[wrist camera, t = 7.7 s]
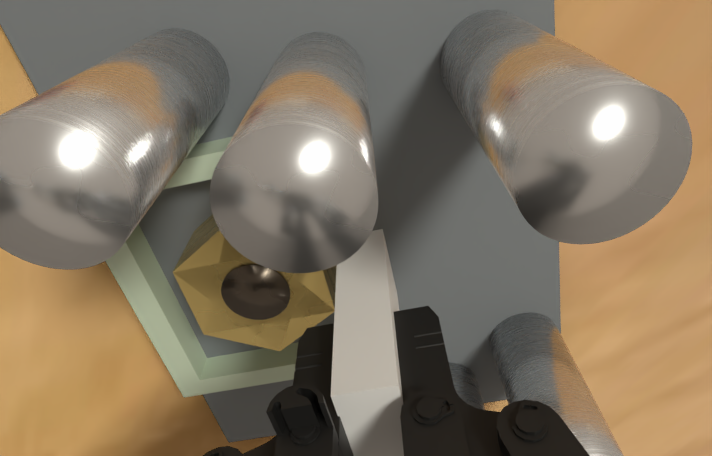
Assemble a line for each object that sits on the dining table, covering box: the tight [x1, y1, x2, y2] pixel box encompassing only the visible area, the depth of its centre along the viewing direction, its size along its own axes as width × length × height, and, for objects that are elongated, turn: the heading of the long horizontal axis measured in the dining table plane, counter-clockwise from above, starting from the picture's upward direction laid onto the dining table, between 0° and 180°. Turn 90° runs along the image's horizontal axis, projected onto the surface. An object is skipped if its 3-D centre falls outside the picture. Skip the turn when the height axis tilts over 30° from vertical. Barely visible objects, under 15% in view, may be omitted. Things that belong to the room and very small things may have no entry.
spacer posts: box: [0, 10, 692, 456], centre depth 15 cm, size 12×18×8 cm
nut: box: [173, 214, 337, 351], centre depth 17 cm, size 5×5×3 cm
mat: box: [0, 0, 561, 442], centre depth 18 cm, size 16×20×1 cm
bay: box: [106, 137, 298, 397], centre depth 18 cm, size 7×10×1 cm
